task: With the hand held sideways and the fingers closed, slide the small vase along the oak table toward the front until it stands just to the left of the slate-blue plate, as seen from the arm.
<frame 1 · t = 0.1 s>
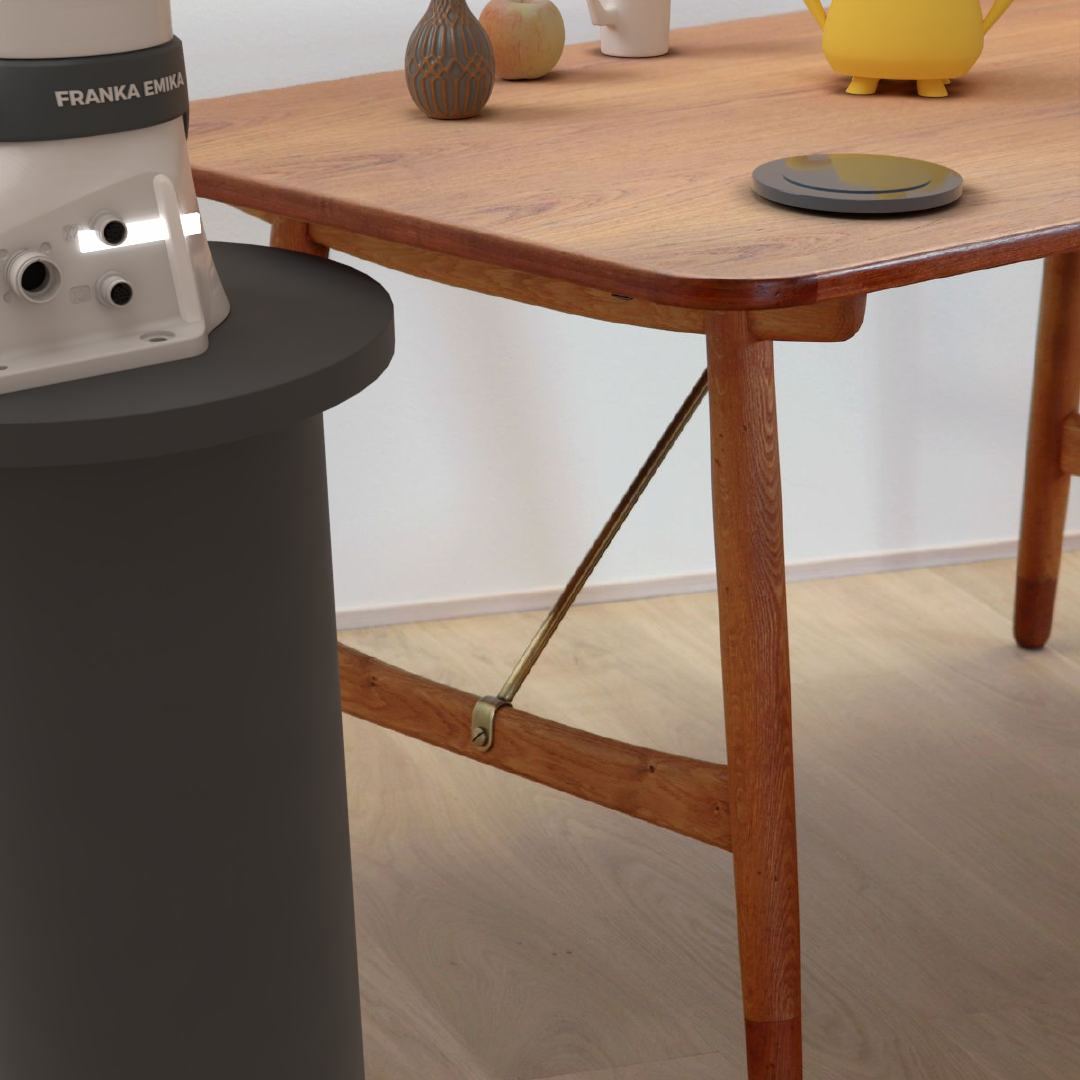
fruit: (519, 80, 148), on the table
teapot: (900, 85, 145), on the table
plate: (855, 194, 109), on the table
mug: (622, 56, 159), on the table
vase: (451, 117, 133), on the table
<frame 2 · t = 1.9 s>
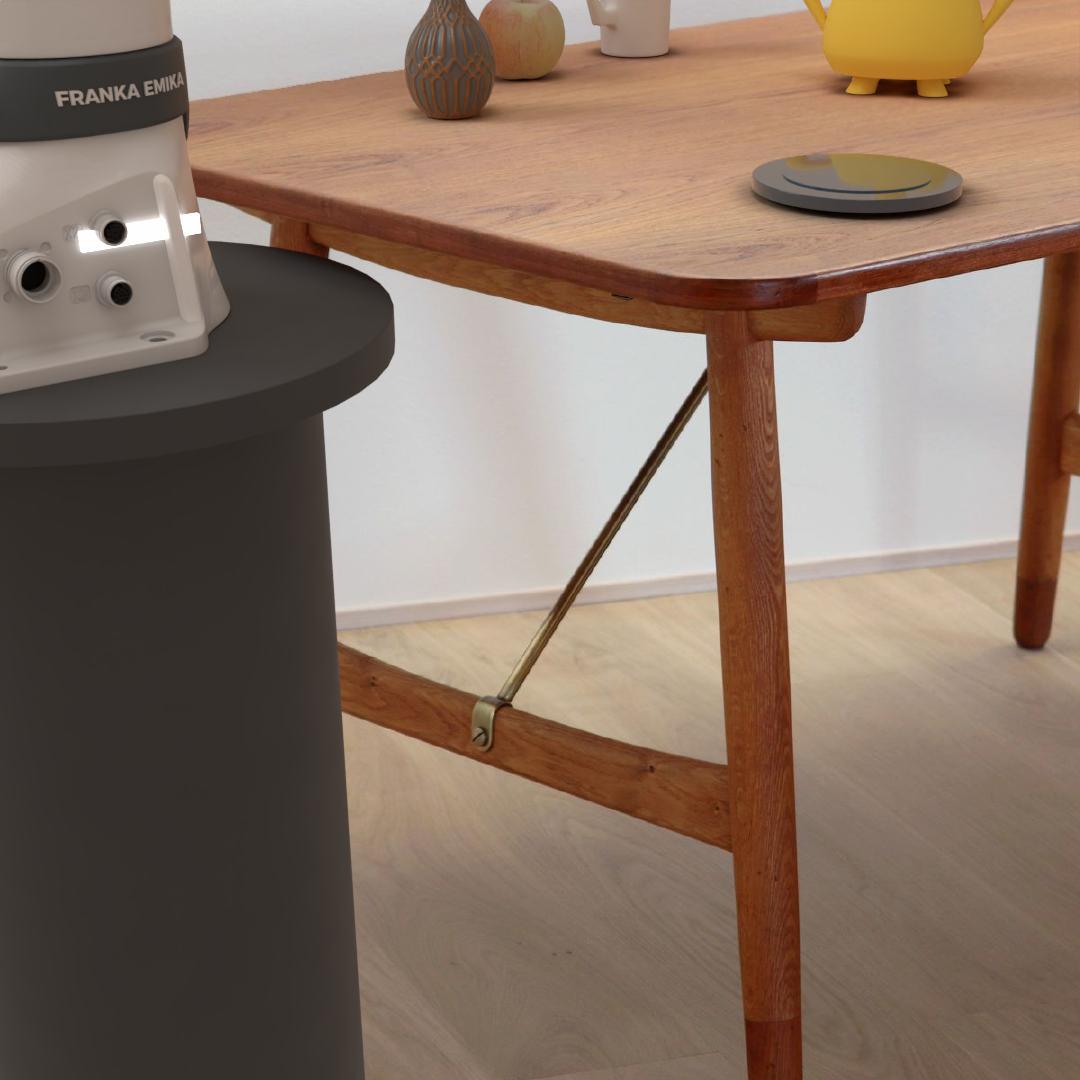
nothing on the table moved.
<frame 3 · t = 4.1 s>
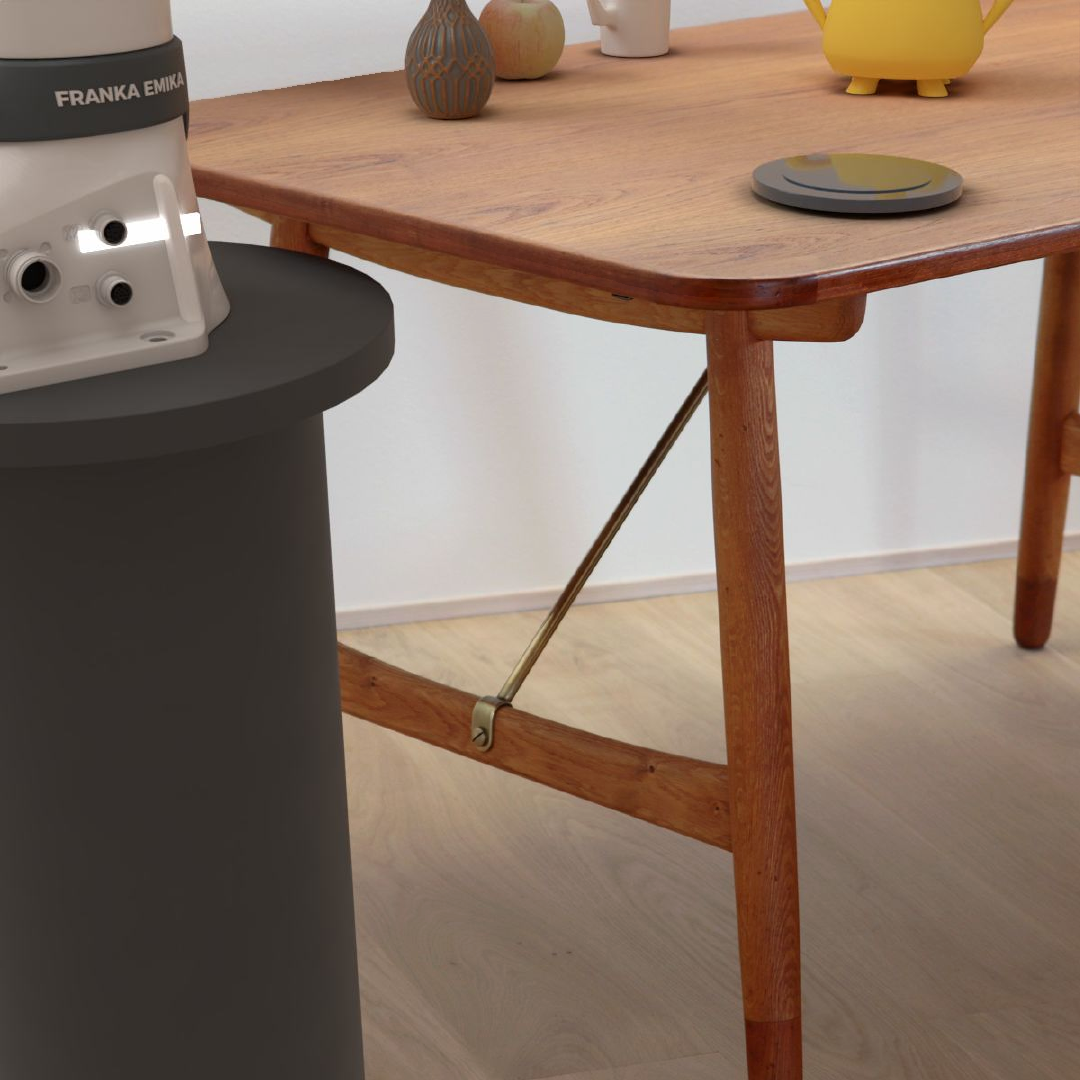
nothing on the table moved.
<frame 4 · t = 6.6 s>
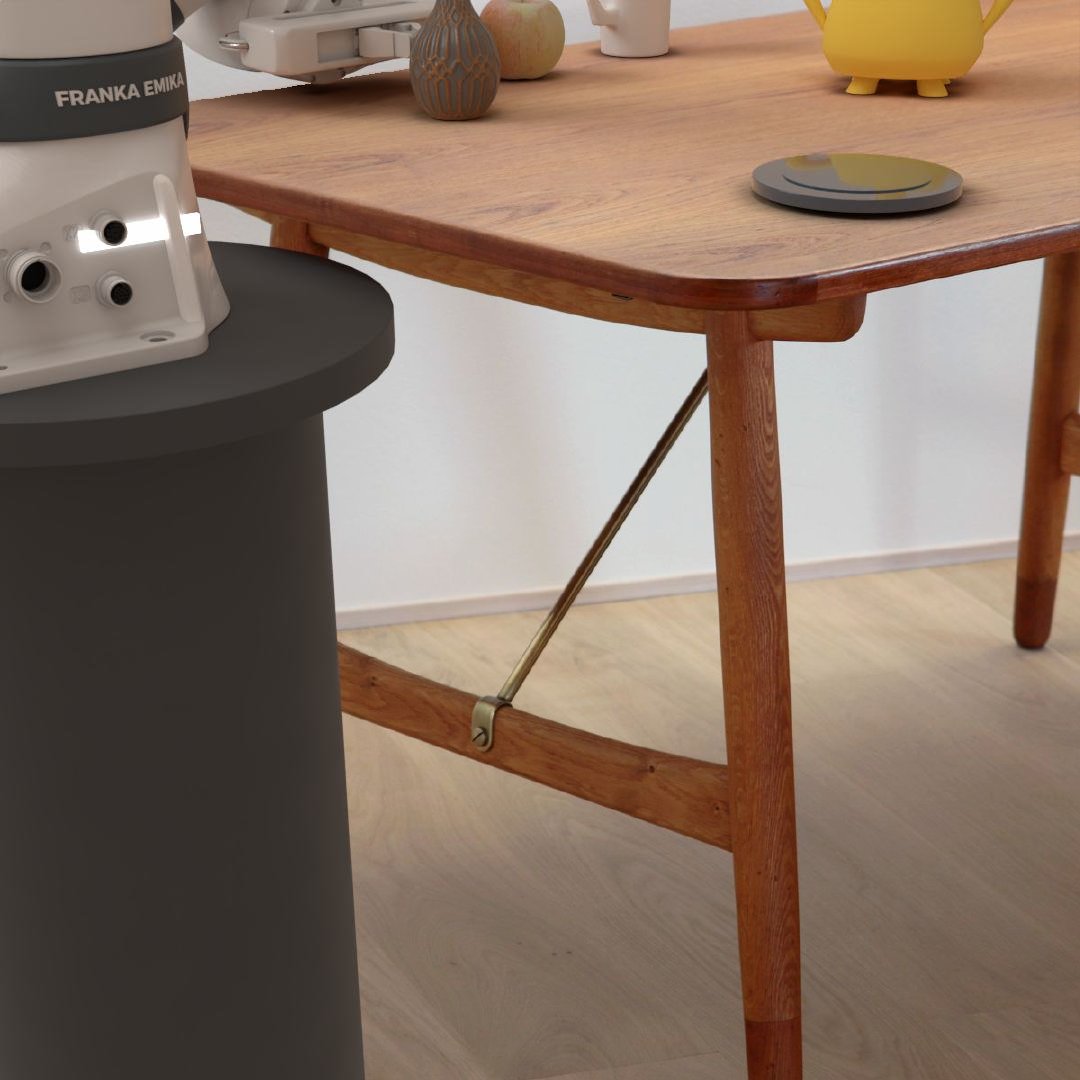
hand: (424, 44, 133), 5 cm above the table, tool horizontal, fingers closed, pressing on vase
vase: (456, 118, 133), on the table, touching gripper
everything else where it was.
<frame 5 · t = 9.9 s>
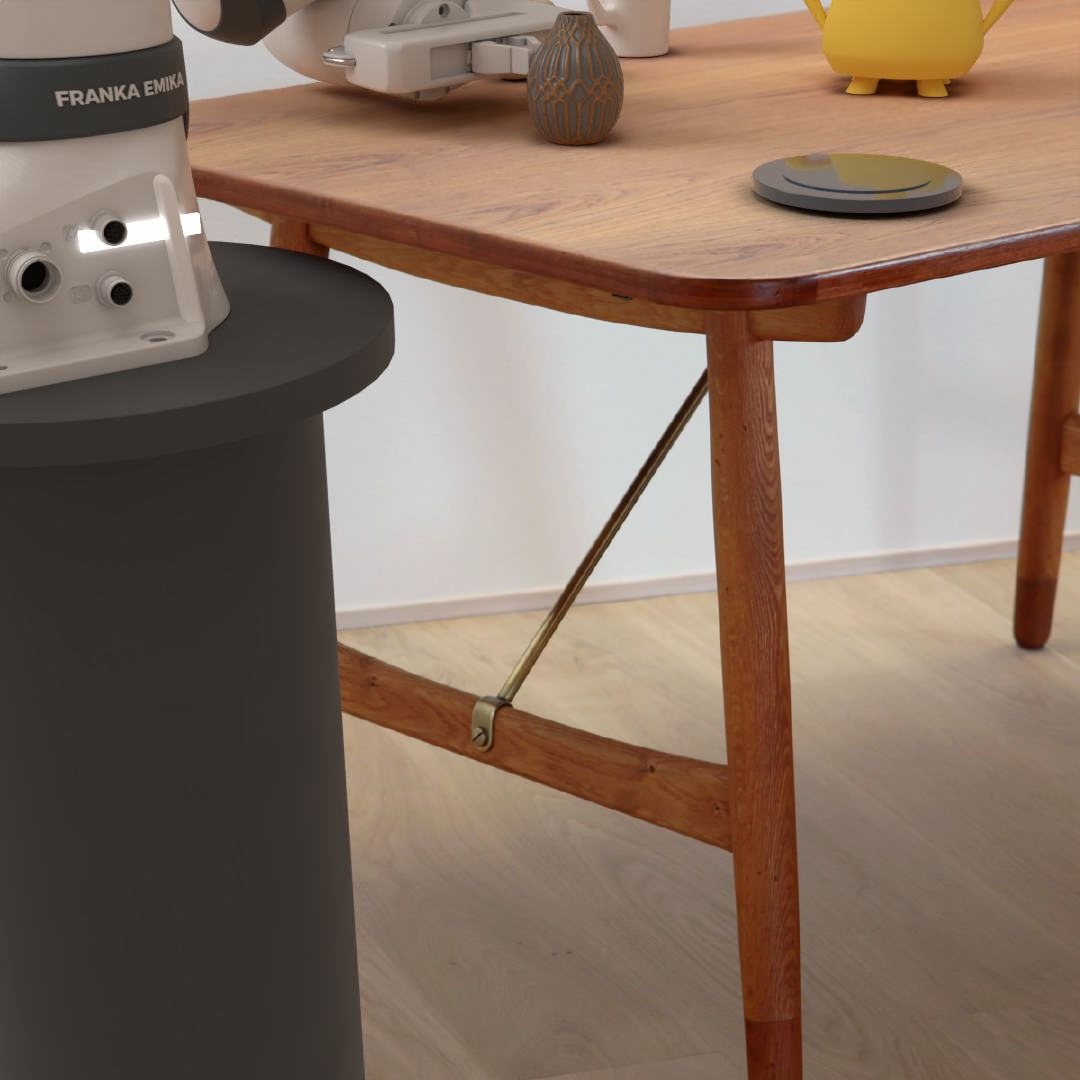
hand: (543, 60, 125), 5 cm above the table, tool horizontal, fingers closed, pressing on vase
vase: (575, 142, 125), on the table, touching gripper
everything else where it was.
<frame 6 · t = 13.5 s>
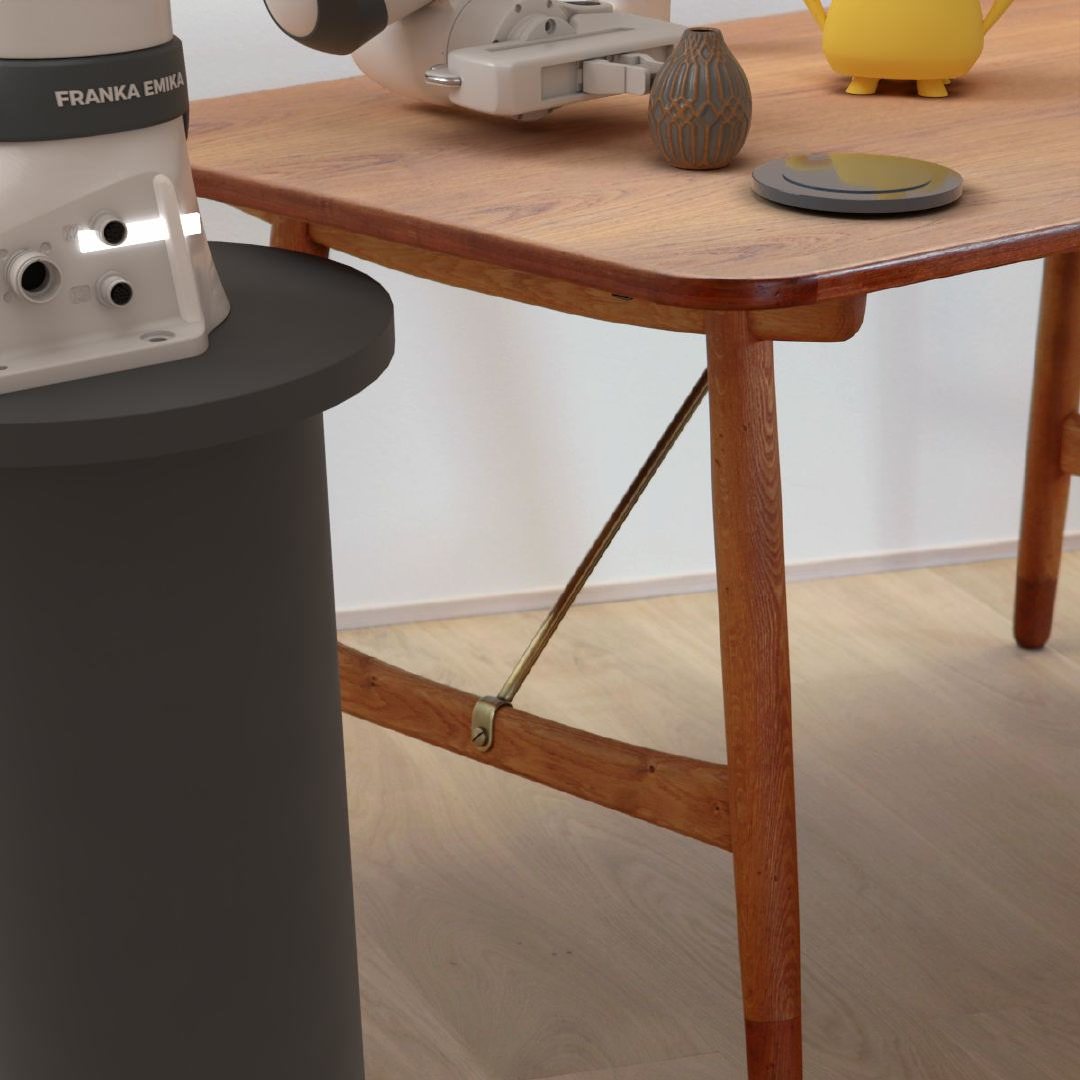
hand: (659, 80, 117), 5 cm above the table, tool horizontal, fingers closed
vase: (698, 166, 117), on the table
everything else where it was.
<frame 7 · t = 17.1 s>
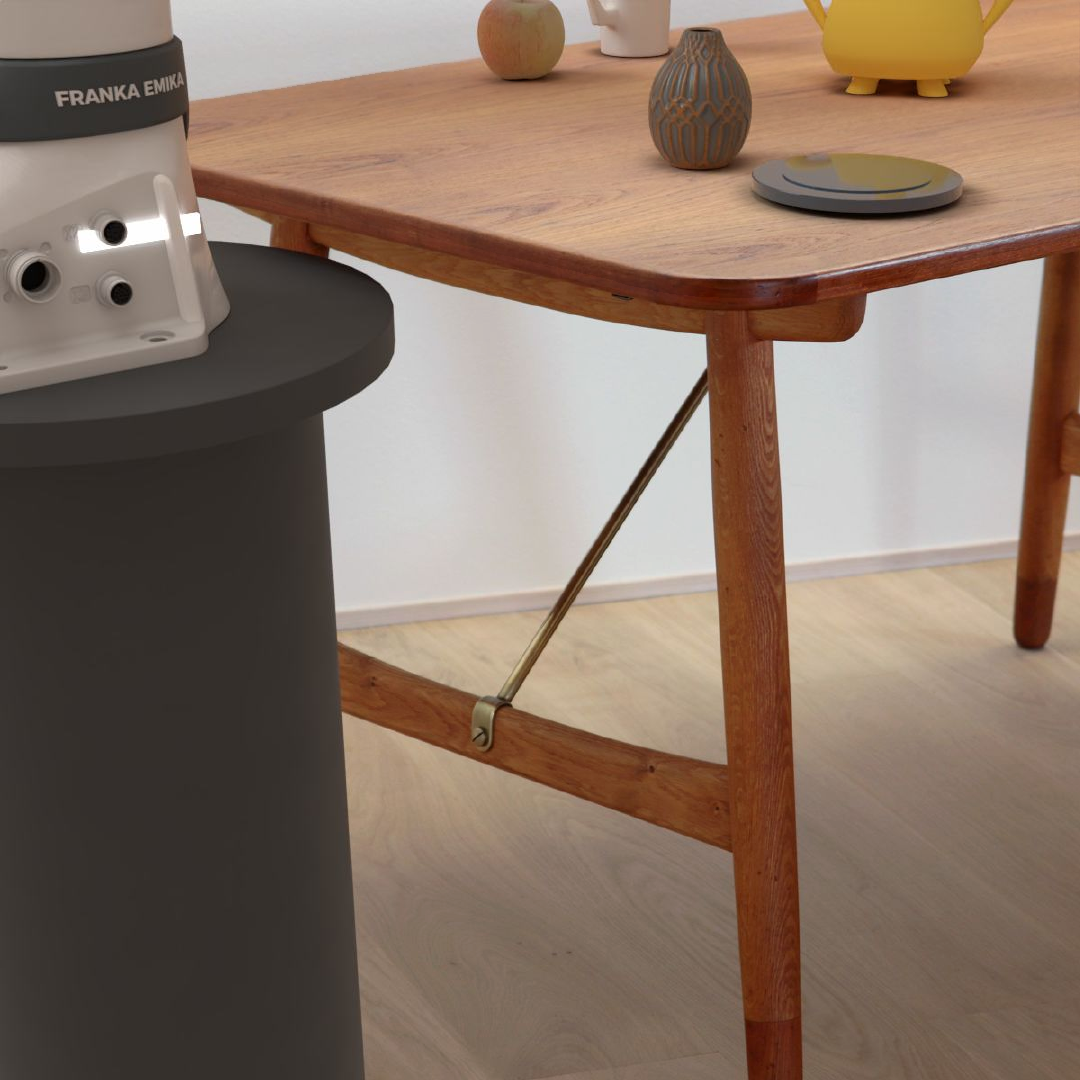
nothing on the table moved.
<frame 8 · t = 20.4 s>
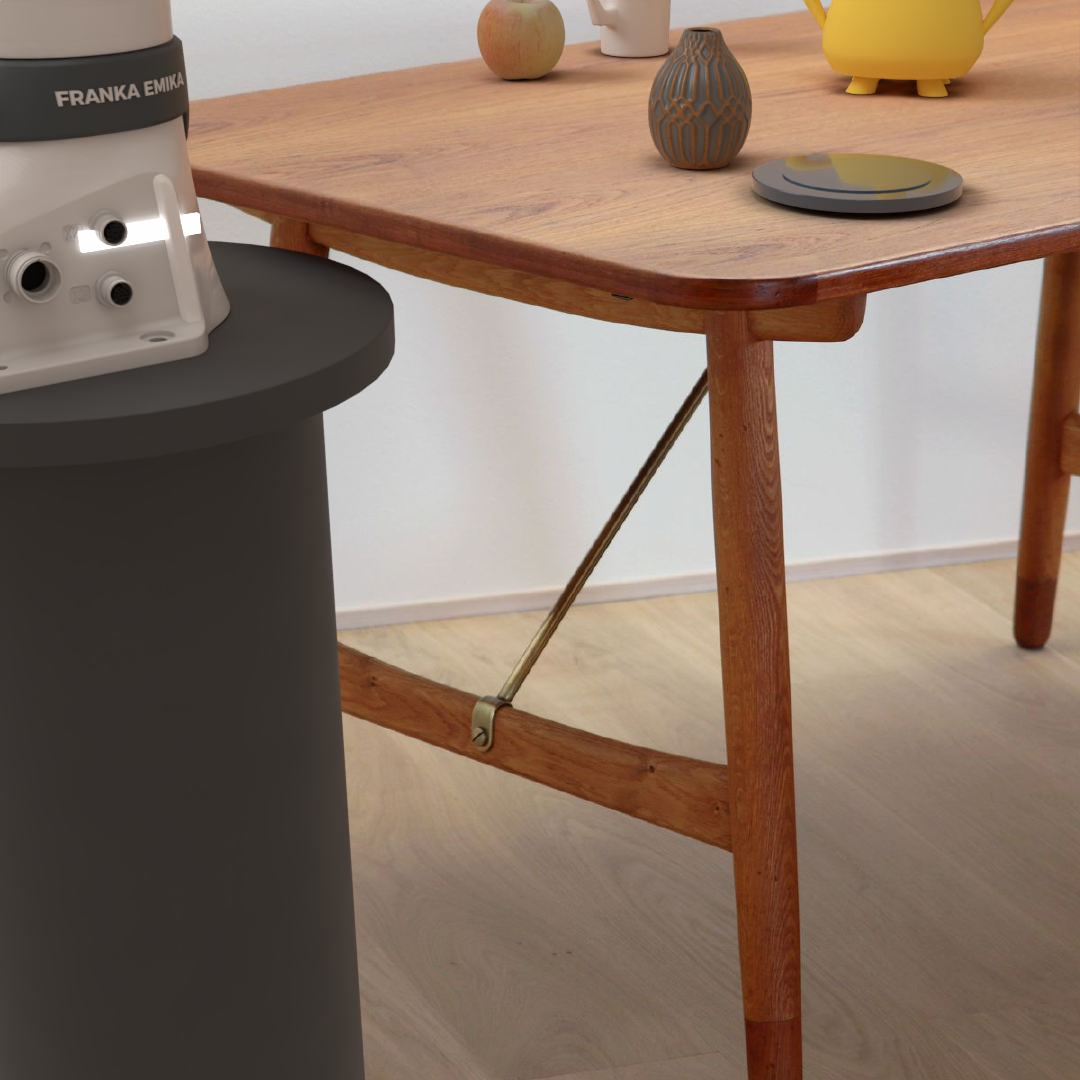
nothing on the table moved.
at the end: vase inside the target area on the table beside the plate (0.4 cm from its centre), on the table; vase tilted 0°; vase moved 25.1 cm from its start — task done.
